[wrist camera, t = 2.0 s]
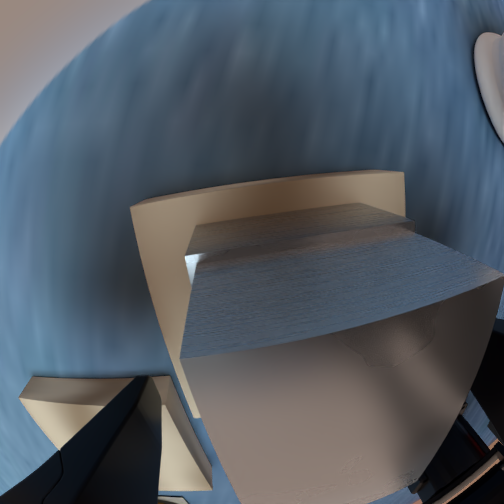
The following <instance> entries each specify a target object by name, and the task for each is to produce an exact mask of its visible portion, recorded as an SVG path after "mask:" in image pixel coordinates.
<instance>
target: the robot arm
mask: <svg viewBox="0 0 504 504" xmlns="http://www.w3.org/2000/svg"><path fill="white" fill-rule="evenodd" d="M470 390H471V392H472V393H473V395H474V396H475V398H476V399H477V401H478V402H479V404H480V406H481V407H482V409H483V410H484V412H485V413H486V415H487V417H488V418H489V420H490V422H491V423H492V425H493V427H494V428H495V430H496V432H497V433H498V435H499V437H500V439H501V440H502V442H503V444H504V320H502V319H498V318H496V319H495V322H494V326H493V329H492V333H491V336H490V339H489V342H488V345H487V348H486V351H485V354H484V356H483V359H482V362H481V364H480V367H479V369H478V372H477V374H476V377H475V379H474V382H473V384H472V386H471V389H470ZM466 406H467V403H466V402H464V404H463V406H462V408H461V410H460V412H459V414H458V416H457V418H456V419H455V421H454V423H453V425H452V427H451V429H450V430H449V432H448V434H447V436H446V437H445V439H444V441H443V442H442V444H441V446H440V447H439V449H438V451H437V452H436V454H435V455H434V457H433V458H432V460H431V462H430V463H429V464H428V466H427V467H426V469H425V470H424V472H423V473H422V475H421V476H420V477H419V479H418V480H417V481H416V482H415V483H413V484H411V485H409V486H408V488H409V490H410V492H411V493H412V494H415V493H418V495H419V497H420V499H421V500H422V502H423V503H422V504H442V503H444V502H445V501H447V500H448V499H449V498H451V497H452V496H453V495H455V494H456V493H458V492H459V491H460V490H462V489H463V488H464V487H465V486H467V485H468V484H469V483H470V482H472V481H473V480H474V479H475V478H476V477H477V476H479V475H480V474H481V473H482V472H483V471H485V470H486V469H487V468H488V467H489V466H490V465H491V464H492V463H493V462H495V461H496V460H497V459H499V460H500V462H499V463H498V464H495V465H494V466H493V467H492V468H491V469H490V470H489V471H488V472H486V473H485V474H484V475H483V476H482V477H481V478H480V479H478V480H477V481H476V482H475V483H473V484H472V485H471V486H470V487H468V488H467V489H466V490H465V491H463V492H462V493H461V494H459V495H458V496H457V497H455V498H454V499H452V500H451V501H450V502H448V503H447V504H504V446H503V445H502V444H501V443H500V442H499V441H498V442H497V443H496V445H494V447H493V448H492V449H491V450H490V449H489V448H488V447H487V445H486V444H485V443H484V442H483V440H482V439H481V438H480V437H479V435H478V434H477V433H476V432H475V430H474V429H473V428H472V427H471V425H470V424H469V423H468V422H467V421H466V419H465V418H464V417H463V416H462V414H463V412H464V410H465V408H466ZM161 455H162V401H161V396H160V394H159V392H158V389H157V387H156V385H155V383H154V380H153V378H152V377H151V376H149V375H142V376H136V377H135V378H134V379H133V380H132V381H131V382H130V383H129V384H128V385H126V386H125V387H124V388H123V389H122V390H121V391H120V392H119V393H118V394H117V395H116V396H115V397H114V398H113V399H112V400H111V401H110V402H109V403H108V404H107V405H106V406H104V407H103V408H102V409H101V410H100V411H99V412H98V413H97V414H96V415H95V416H94V417H93V418H92V419H91V420H90V421H89V422H88V423H87V424H86V425H84V426H83V427H82V428H81V429H80V430H79V431H78V432H77V433H76V434H75V435H74V436H73V437H72V438H71V439H70V440H69V441H68V442H66V443H65V444H64V445H63V446H62V447H61V448H60V450H58V451H57V452H56V453H55V454H54V455H52V456H51V457H50V458H49V459H48V460H47V461H46V462H45V463H44V464H42V465H41V466H40V467H39V468H38V469H37V470H35V471H34V472H33V473H31V474H30V475H29V476H28V477H26V478H25V479H24V480H22V481H21V482H19V483H18V484H17V485H15V486H14V487H13V488H11V489H10V490H8V491H7V492H6V493H4V494H3V495H1V496H0V504H158V490H159V477H160V465H161Z"/></svg>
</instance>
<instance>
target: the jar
mask: <svg viewBox="0 0 504 504" xmlns="http://www.w3.org/2000/svg"><path fill="white" fill-rule="evenodd" d="M474 61H475V70H476V75H477V80H478V84H479V88H480V91H481V95H482V98H483V101H484V104H485V107H486V110H487V112H488V114H489V117H490V119H491V122H492V124H493V126H494V128H495V130H496V132H497V134H498V135H499V137H500V138H501V140H502V142H503V143H504V33H503V34H502V36H501V35H498V34H496V33H491V32H487V33H483V34H481V35H480V36H479V37H478V39H477V41H476V44H475V49H474Z"/></svg>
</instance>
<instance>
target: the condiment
mask: <svg viewBox="0 0 504 504" xmlns="http://www.w3.org/2000/svg"><path fill="white" fill-rule="evenodd" d="M158 504H188V503H187V502H186V501H185V500H184V499H183V498H176V497H162V496H160V497H158Z"/></svg>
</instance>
